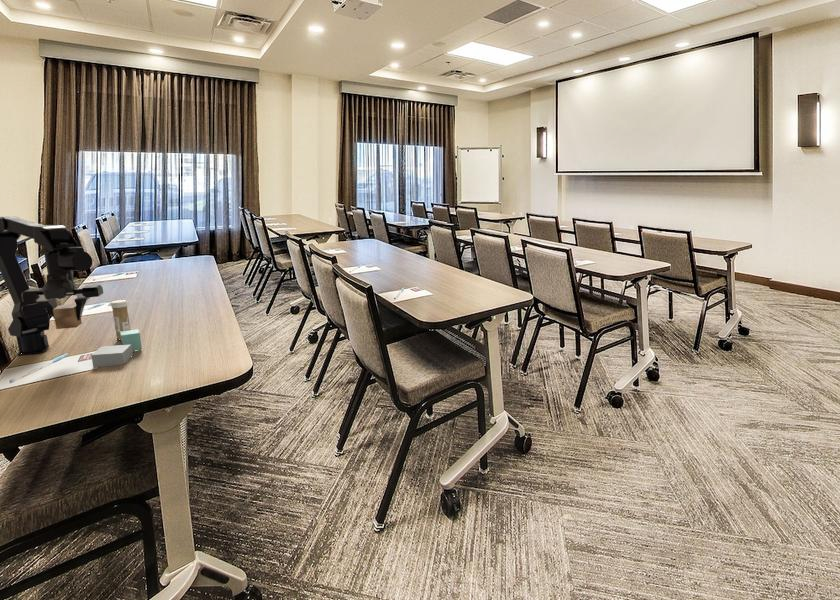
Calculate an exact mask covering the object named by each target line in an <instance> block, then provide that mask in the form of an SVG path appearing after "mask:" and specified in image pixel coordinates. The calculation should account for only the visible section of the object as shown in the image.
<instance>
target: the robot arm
mask: <svg viewBox="0 0 840 600" xmlns="http://www.w3.org/2000/svg"><path fill="white" fill-rule="evenodd" d="M21 236H24V237H26V238H30V239H33V242H34V243H35V244H37V245H39V246H41V247H43V248H42V249H40V250H39V252H38V253H39V255H44V259H45V260H44V261H45V265H46V271H47V274H46V282H45V284H44V285H43V286H42V287H39V288H30V286H29V284H28V282H27V279H26V277H25V275H24V272H23V270H22V268H21V266H20V263H19V261H18V258H17V256H16V254H17V251H18V248H19V243H18V240H19V239H20V238H21ZM92 265H93V258H92V256H91V255H90V253H89V252H87V251H84V247H83V246H80V245H79V242H78V240H76V239H75V237H74V235H73V234H72V232H70V231H69V229H68V228H67V226H64V225H59V224H58V225H57V224H56V225H53V224H52V225H51V224H48V225H47V224H46V225H45V224H41V223H37V222H34V221H31V220H27V219H23V218H20V217H19V216H16V215H14V216H13V215H12V216H0V273H1V276H2V278H3V281H4V283H5V285H6V288H7V289H8V293H9V295H10V298H11V299H12V303H13V308H12V312H11V318H12V321H11V323H10V325H8V326H9V327H7V331H8V333H9V335H10V336H12V337H16V341H17V346H18V347H17V348H18V352H17V353H16V355H17V356H21V355H20V354H21V353H22V354H24V355H34V354H42V353H45V351H46V350H48V349H49V348H50V345H49V341H48V335H47V334H46V333H45V331H50V323H51V316H52V318H53V319H54V320H55V318H54V313H53V309H54V308H56V307H57V306H58V304H57V299H58V300H61V299H65V298H66V297H68V296H76V298H75V299H74V302H75V303H74V304H76V311H77V319H78V321H79V320H81V321H82V315H83V312H84V308H85V306H86V303H87V301H88V300H89V299H90V298H96V297H100V296H101V295H103V294H104V289H103V286H102V285H101V284H91V285H85V286H83V287H82V288H76V287H77V285H76V283H75V281H74V275H75V274H74V271H75V272H76V271H77V272H87V271H88V270H90V268H91V267H92ZM50 315H51V316H50ZM48 347H49V348H48Z"/></svg>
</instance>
